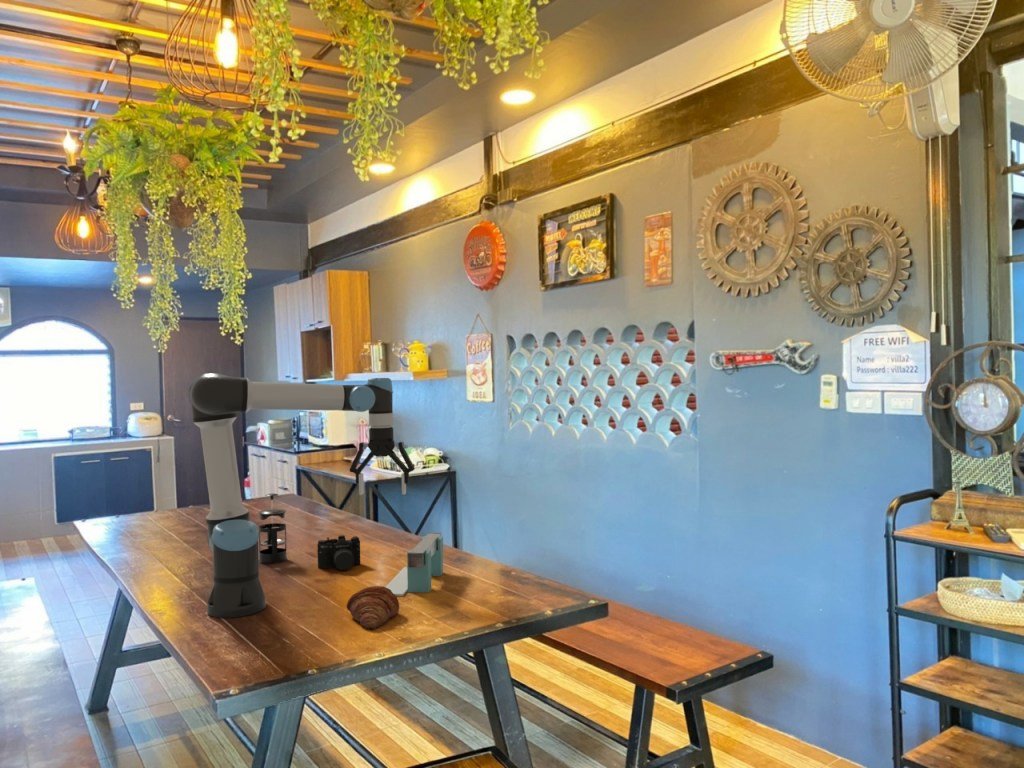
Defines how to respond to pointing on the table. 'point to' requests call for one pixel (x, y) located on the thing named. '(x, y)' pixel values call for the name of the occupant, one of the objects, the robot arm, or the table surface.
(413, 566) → the rail
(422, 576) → the post
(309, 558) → the table surface
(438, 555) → the post
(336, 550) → the camera
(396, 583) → the white flat board
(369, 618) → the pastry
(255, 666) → the table surface
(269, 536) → the french press
